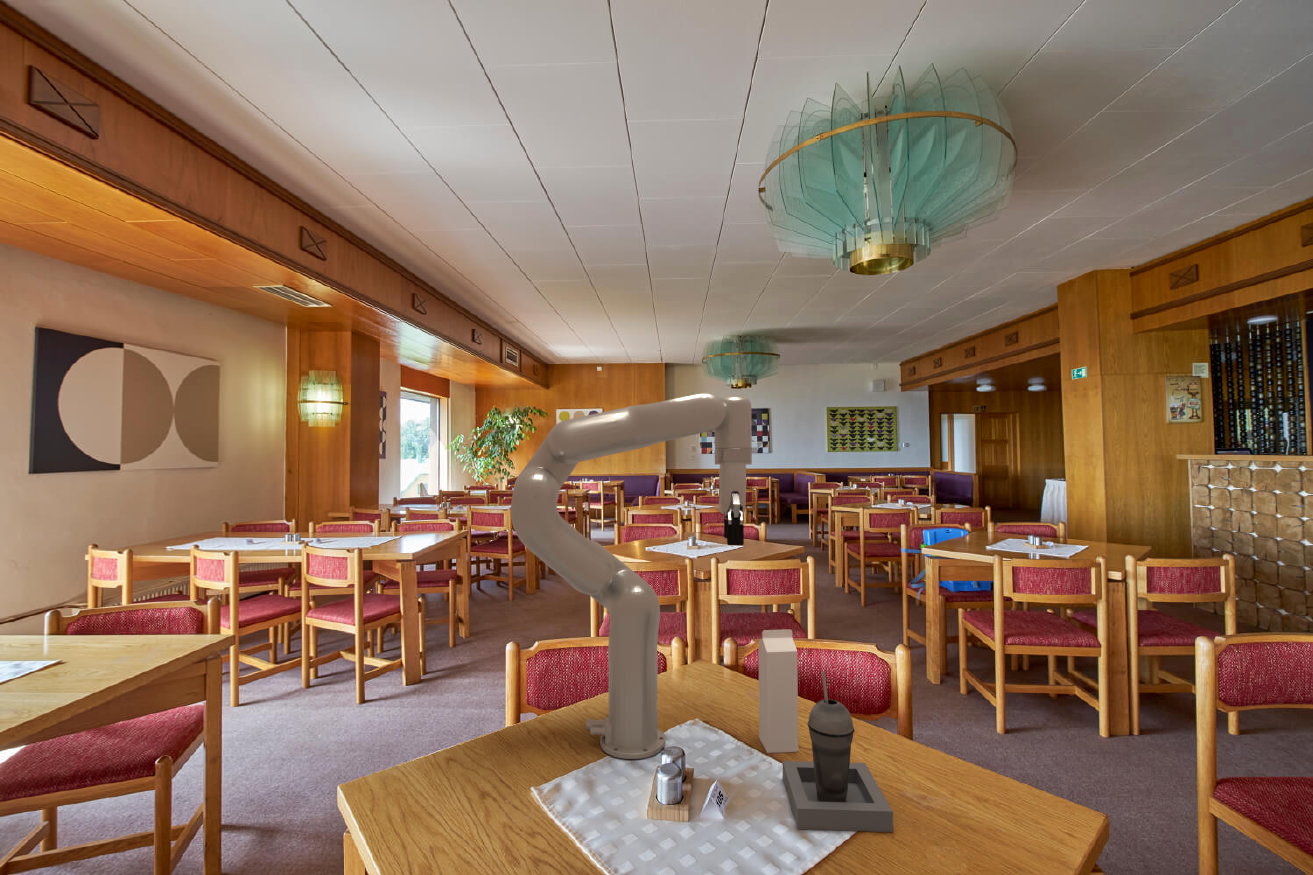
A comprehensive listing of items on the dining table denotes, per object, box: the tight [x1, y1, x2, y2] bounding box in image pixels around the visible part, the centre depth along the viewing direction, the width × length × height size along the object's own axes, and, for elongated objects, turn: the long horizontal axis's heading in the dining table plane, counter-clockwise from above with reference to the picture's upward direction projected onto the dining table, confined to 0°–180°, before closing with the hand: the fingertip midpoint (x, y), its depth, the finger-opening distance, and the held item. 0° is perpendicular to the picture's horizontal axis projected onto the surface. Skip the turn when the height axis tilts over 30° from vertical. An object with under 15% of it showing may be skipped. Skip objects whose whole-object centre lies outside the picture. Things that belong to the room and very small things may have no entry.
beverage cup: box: [807, 670, 855, 802], centre depth 96 cm, size 7×7×20 cm
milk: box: [758, 629, 799, 754], centre depth 115 cm, size 6×6×22 cm
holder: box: [782, 760, 894, 833], centre depth 96 cm, size 14×14×3 cm
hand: (733, 541), depth 122 cm, fingers open, 9 cm apart
